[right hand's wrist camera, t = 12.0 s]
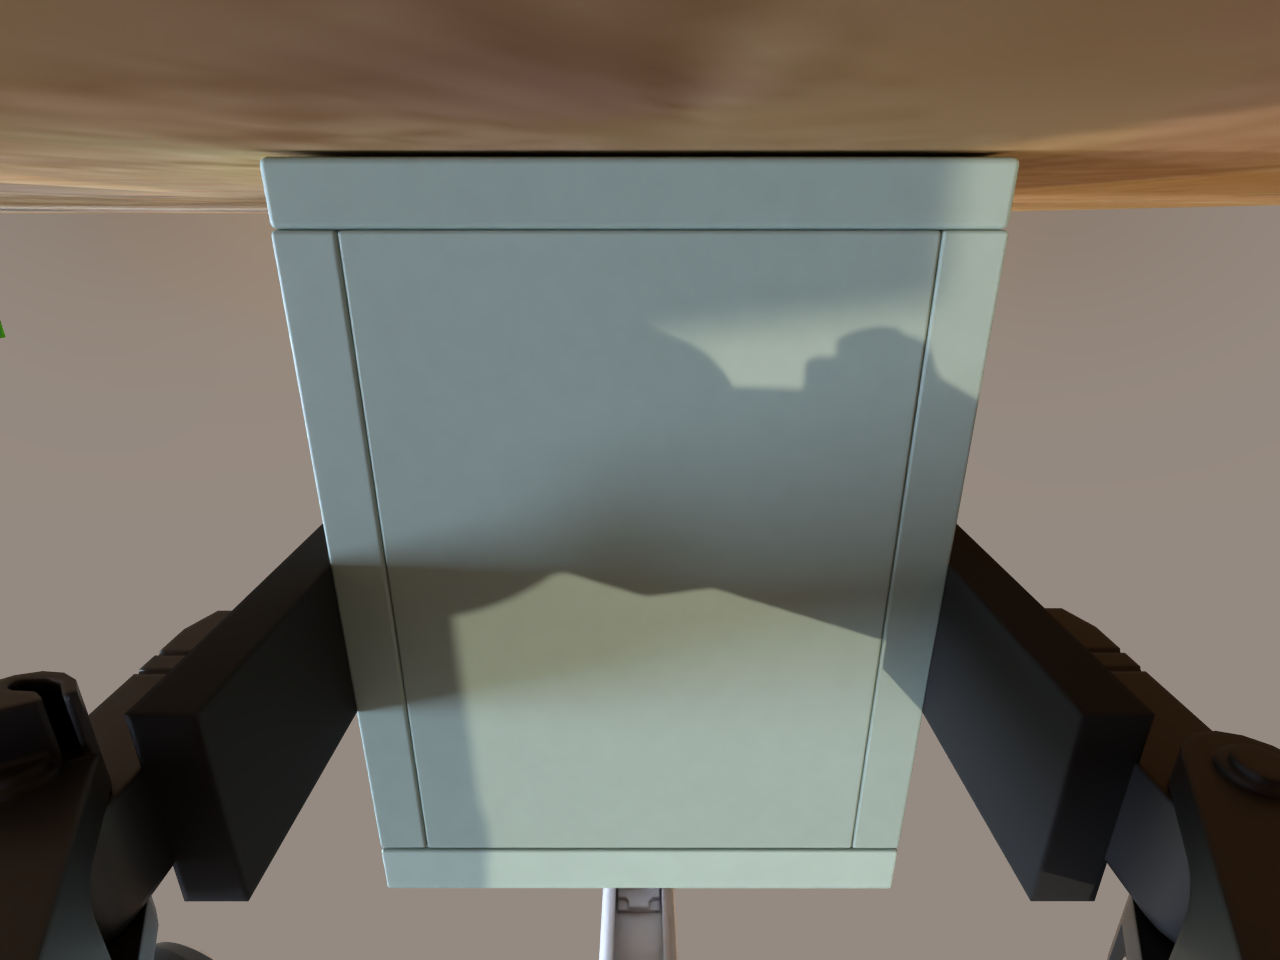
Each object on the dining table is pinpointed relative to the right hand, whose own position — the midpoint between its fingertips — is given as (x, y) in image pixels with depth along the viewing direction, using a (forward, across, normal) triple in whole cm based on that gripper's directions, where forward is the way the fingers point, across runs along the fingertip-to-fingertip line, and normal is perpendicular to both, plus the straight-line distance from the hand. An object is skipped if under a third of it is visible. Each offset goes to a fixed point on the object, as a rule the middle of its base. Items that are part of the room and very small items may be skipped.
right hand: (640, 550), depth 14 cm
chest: (+4, 0, -7) cm, 8 cm away
